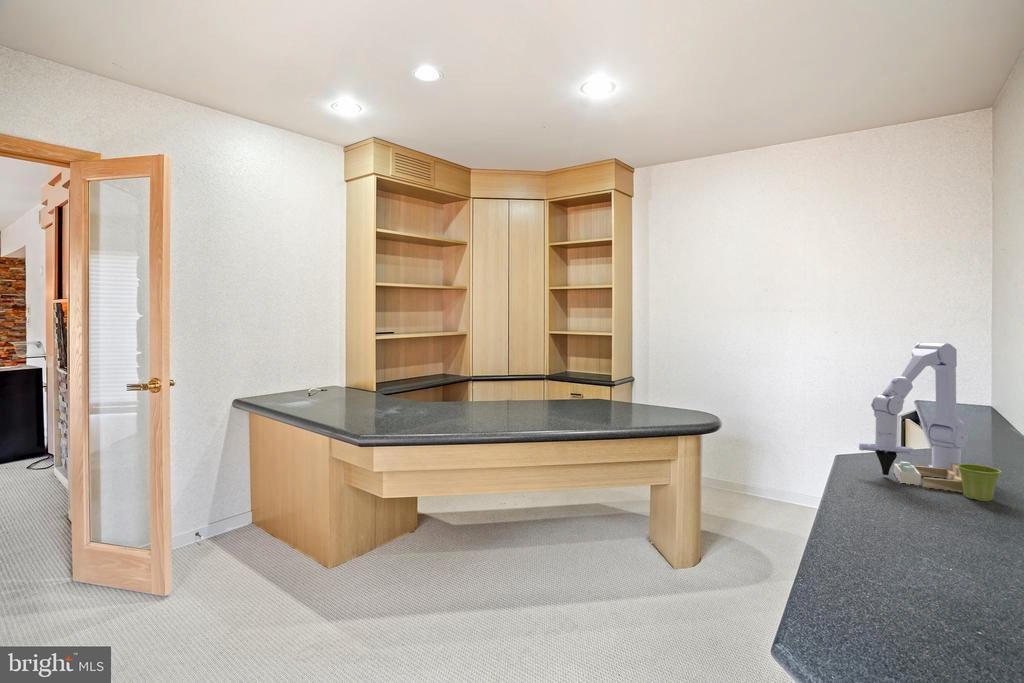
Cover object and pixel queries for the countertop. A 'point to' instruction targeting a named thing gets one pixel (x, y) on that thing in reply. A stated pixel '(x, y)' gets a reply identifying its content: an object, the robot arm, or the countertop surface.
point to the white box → (907, 473)
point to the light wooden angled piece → (951, 474)
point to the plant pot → (978, 481)
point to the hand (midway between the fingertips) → (885, 474)
